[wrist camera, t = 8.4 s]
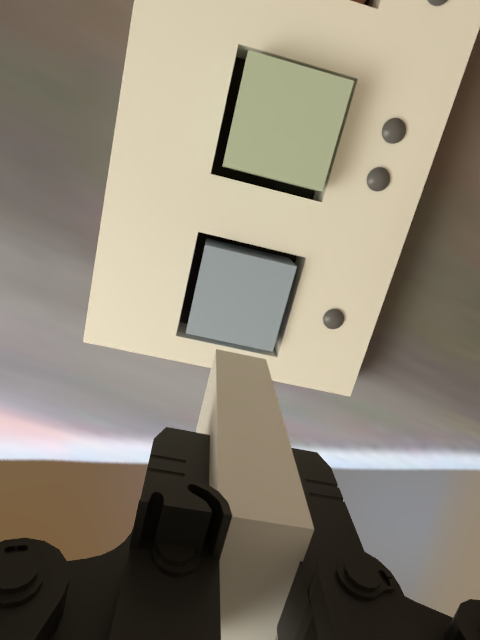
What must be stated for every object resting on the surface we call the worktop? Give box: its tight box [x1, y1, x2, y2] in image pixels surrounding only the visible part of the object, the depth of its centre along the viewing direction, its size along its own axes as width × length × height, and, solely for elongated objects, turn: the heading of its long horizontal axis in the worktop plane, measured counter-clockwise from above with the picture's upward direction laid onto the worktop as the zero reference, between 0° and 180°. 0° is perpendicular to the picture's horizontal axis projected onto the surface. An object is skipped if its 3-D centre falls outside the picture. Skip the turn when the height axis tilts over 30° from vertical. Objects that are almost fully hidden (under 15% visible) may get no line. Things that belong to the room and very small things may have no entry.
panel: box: [83, 0, 480, 396], centre depth 23 cm, size 16×27×3 cm, turn 166°
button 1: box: [186, 238, 297, 352], centre depth 26 cm, size 5×5×3 cm
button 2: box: [222, 50, 354, 191], centre depth 22 cm, size 5×5×3 cm
